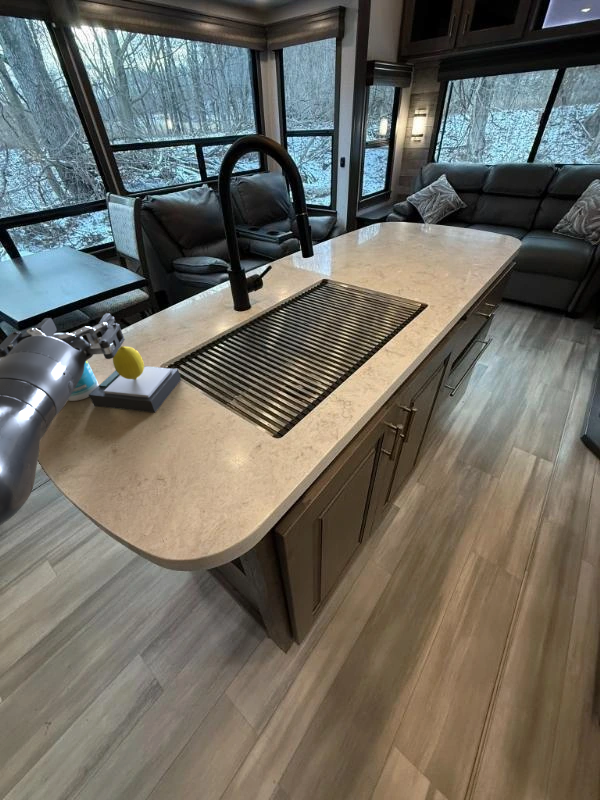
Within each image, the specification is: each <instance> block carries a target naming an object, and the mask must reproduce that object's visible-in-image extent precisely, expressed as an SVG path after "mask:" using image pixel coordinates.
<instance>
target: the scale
mask: <svg viewBox="0 0 600 800" xmlns="http://www.w3.org/2000/svg"><path fill="white" fill-rule="evenodd" d="M181 381H182V379H181V375H180V372H179V368H170V367H161V366H160V367H159V366H158V367H157V366H148V365H144V370H143V373H142V374H141V375H140V376H139V377H137V379H135V380H133V379H126V378H124V377H122V376H120V375H119V374H118V373H117V371H116V369H115V370H114V371H113V372H112V373H111V374H110V375H108V377H106V378H105V379H104V380H103V381H102V382H101V383H99V384H98V385H99V386H98V387H97V388H96V389H94V390H93V391H92V392H91V393H90V394H89V397H88V398H89V399H90V400H91V403H92V404H93V406H94V407H100V408H108V409H109V408H110V409H116V410H117V409H118V410H125V411H127V410H128V411H135V412H145V413H156V412H157V411H158V410H159V408H160V407H161V406H162V405H163V403H165V401H166V400H167V398H168V397H169V396H170V395H171V393H172V392H173V391H174V389H175V388H176V387H177V386H178V385H179V383H180V382H181Z"/></svg>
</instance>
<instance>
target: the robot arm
mask: <svg viewBox="0 0 600 800" xmlns="http://www.w3.org/2000/svg"><path fill="white" fill-rule="evenodd" d="M121 328H122V327H121V326H120V324H119V323H117V322H116V319H115V317H114V316H112V314H111V313H105V314H103V316H102V317H101V318H100V321H99V322H98V324H95V325H93V326H86V325H85V326H83V327H81V328H78V329H76V330H74V331H72V332H70V333H69V332H64V334H56V335H54V333H57V331H58V330H57V326H56V324H55V323H54V321H53V319H52V317H45V318H44V319H42V320H41V322H39V323H37V325H36V326H35V327H30V328H28V329H26V332H24V333H23V332H21V330H14V331H12V332H10V333H9V334H8V336H7V337H6V338H5V339H4V340H3V341H2V342H1V343H0V526H2V525H3V524H5V523H6V522H8V521H9V520H10V519H11V518H13V517H14V516H15V515H16V514H17V513H18V512H19V511H20V510H21V509H22V508H23V506H24V505H25V504H26V502H27V501H28V499H29V498H30V496H31V494H32V491H33V489H34V486H35V480H36V479H35V478H36V475H37V474H36V473H37V467H38V460H39V455H40V447H41V446H40V444H41V441H42V439H43V437H44V436H45V435H46V433H47V431H48V429H49V428H50V426H51V425H52V422H53V421H54V419H55V418H56V417H57V415H58V414H59V413H60V412H61V411H62V410H63V408H64V407H65V406H66V404H67V402H68V401H69V400H68V399H69V397H70V395H71V394H72V392H73V390H74V389H75V387H76V385H77V383H78V382H79V380H80V378H81V377H82V375H83V372H84V366H85V361H88V360H90V359H91V358H92V357H93V356H95V355H103V356H104V359H105V360H111V359H113V357H114V356H115V355H116V353H117V351H118V350H119V348H120V347H121V346H123V343H124V342H125V340H126V339H125V337H124V333H123V331H122V329H121ZM99 332H100V333H101V336H100V337H98V335H97V334H98V333H99ZM83 336H86V338H87V339H85V338H84V337H83Z"/></svg>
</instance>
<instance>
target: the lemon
mask: <svg viewBox="0 0 600 800" xmlns="http://www.w3.org/2000/svg"><path fill="white" fill-rule="evenodd" d="M112 363H113V368H114V369H115V370H116V371H117V373H118V374H119V375H120V376H122V377H124V378H126V379H133V380H135V379H137V377H139V376H140V375H141V374H142V373H143V370H144V366H145V363H144V359H143V356H142V355H141V354H140V352H139V351H138V350H137V349H135V348H134V347H132V346H125V345H121V346H120V348H119V350H118V351H117V353H116V355H115V356H114V357H113V358H112Z"/></svg>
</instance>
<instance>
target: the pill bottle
mask: <svg viewBox="0 0 600 800" xmlns="http://www.w3.org/2000/svg"><path fill="white" fill-rule="evenodd" d="M56 334H65V332H55V333H54V335H56ZM99 385H100V384H99V382H98V380H97V378H96V376H95V374H94V372H93V369H92V367H91V365H90V364H89V361H88V360H87V361H85V366H84V372H83V375H82V377H81V378H80V380H79V382H78V383H77V385H76V387H75V389H74V390H73V392H72V394H71V395H70V397H69V399H68V400H67V401H69V402H76V401H82V400H85V399H87V398H90V397H89V394H90V393H91V392H92V391H93V390H94V389H96V388H97V387H98V386H99Z"/></svg>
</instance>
